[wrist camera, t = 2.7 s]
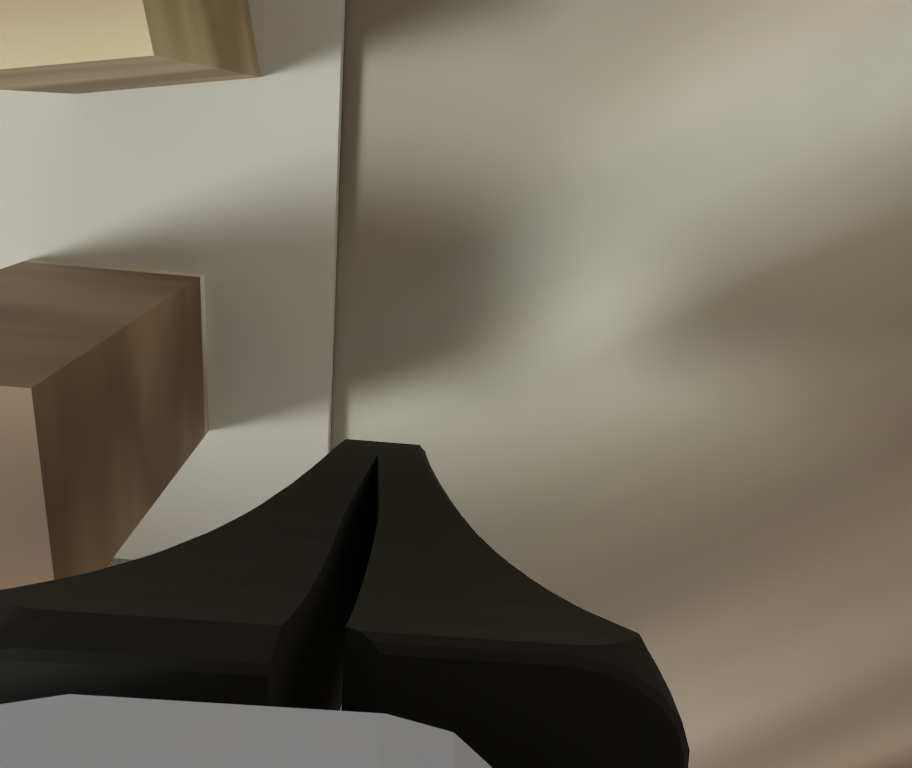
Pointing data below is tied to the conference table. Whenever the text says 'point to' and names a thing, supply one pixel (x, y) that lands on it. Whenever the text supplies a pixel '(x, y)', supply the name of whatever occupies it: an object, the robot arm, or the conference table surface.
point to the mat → (208, 240)
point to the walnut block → (92, 408)
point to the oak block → (123, 44)
